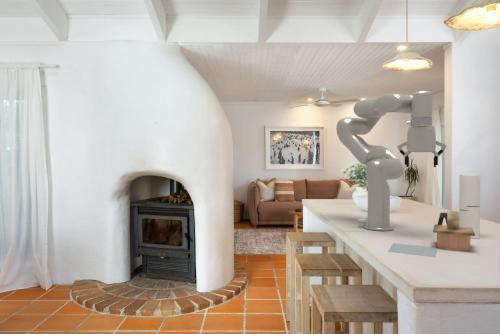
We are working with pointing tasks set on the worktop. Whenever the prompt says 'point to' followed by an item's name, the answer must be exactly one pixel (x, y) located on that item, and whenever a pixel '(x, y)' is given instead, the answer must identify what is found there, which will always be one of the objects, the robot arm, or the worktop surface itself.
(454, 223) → the square wooden lid
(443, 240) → the terracotta bowl
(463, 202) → the cylindrical container
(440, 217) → the portable electronic device stand
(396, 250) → the slate mat
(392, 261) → the worktop surface
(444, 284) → the worktop surface
